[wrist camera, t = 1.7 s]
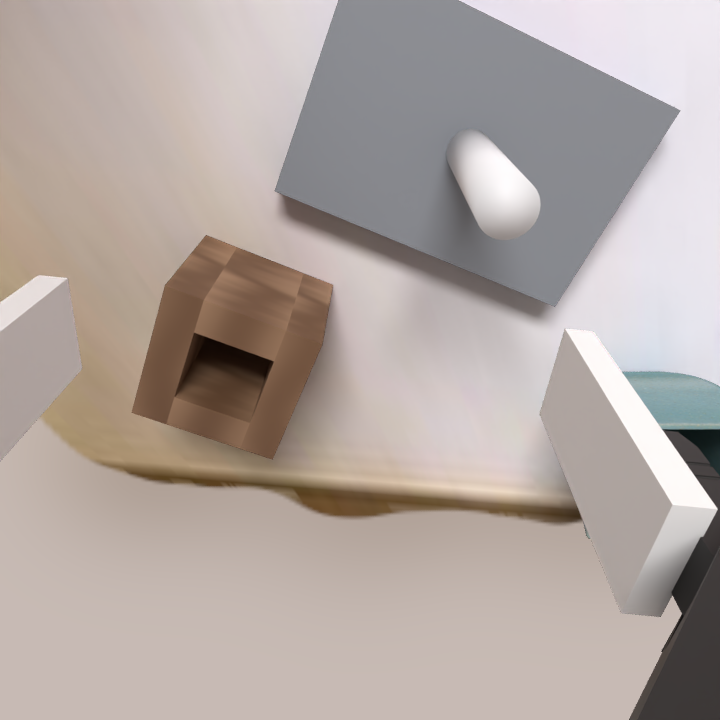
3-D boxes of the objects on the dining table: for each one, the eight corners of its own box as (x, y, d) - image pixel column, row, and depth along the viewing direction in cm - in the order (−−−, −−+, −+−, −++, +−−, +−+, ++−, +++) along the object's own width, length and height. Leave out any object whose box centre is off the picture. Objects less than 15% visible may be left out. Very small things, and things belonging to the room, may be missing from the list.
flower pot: (566, 345, 39) (612, 425, 32) (700, 344, 39) (780, 424, 31) (548, 449, 44) (585, 542, 36) (669, 449, 43) (732, 542, 36)
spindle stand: (279, 182, 35) (231, 260, 23) (357, -47, 29) (342, -91, 18) (546, 293, 38) (618, 410, 26) (663, 105, 32) (819, 150, 21)
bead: (174, 345, 40) (131, 412, 33) (205, 235, 36) (164, 285, 29) (290, 386, 42) (272, 459, 35) (332, 284, 38) (322, 344, 31)
